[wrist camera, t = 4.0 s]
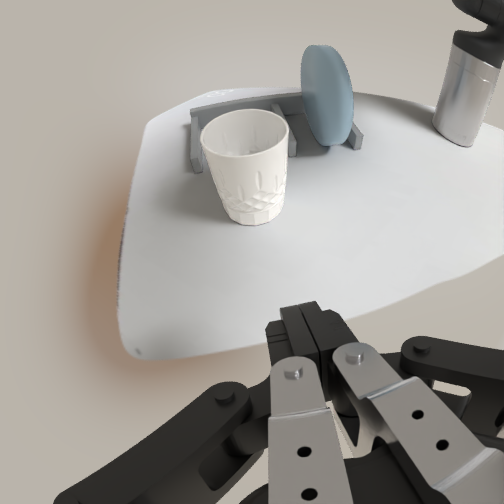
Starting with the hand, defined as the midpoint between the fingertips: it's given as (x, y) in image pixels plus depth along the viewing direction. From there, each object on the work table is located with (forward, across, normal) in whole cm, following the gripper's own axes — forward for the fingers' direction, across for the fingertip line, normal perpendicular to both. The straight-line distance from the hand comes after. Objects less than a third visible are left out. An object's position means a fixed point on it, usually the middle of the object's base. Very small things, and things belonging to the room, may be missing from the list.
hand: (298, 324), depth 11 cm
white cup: (+22, 0, -4) cm, 22 cm away
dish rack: (+30, -5, -12) cm, 32 cm away
